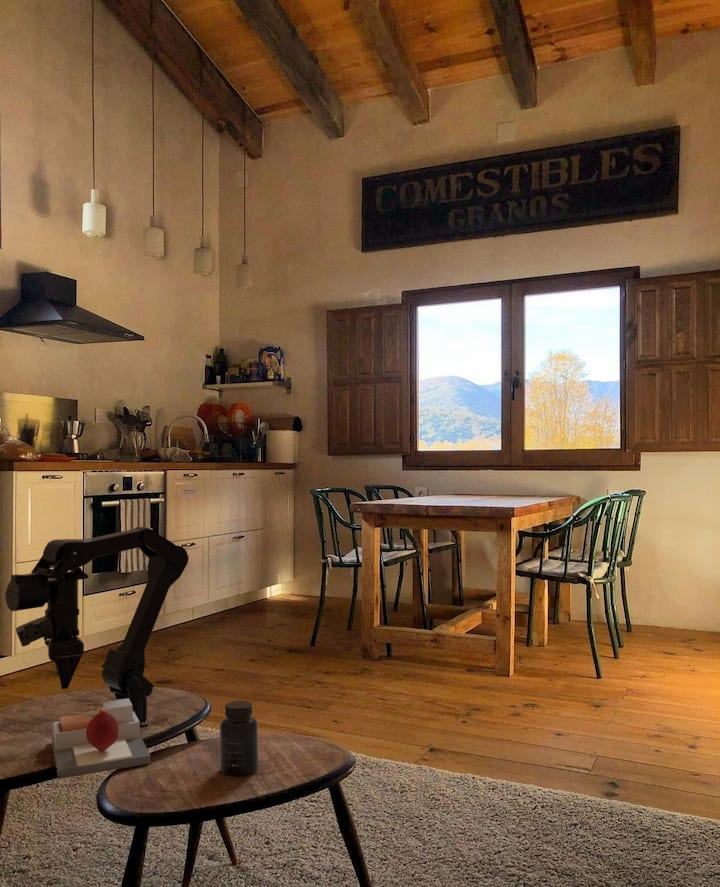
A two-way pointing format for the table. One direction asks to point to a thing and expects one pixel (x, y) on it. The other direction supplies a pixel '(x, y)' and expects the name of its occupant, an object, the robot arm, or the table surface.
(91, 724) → the onion
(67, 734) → the board
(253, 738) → the supplement bottle
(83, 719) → the reddish-brown block
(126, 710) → the block
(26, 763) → the table surface
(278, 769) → the table surface
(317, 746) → the table surface
